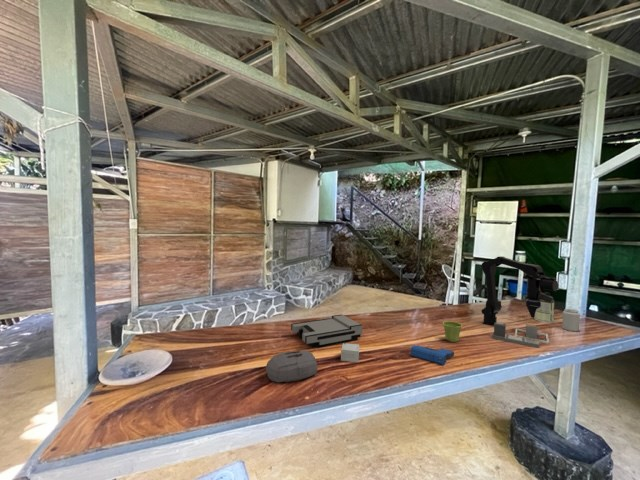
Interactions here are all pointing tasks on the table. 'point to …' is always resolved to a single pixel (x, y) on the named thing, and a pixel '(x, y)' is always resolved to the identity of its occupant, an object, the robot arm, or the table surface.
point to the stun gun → (431, 354)
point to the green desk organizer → (545, 312)
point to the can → (571, 320)
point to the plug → (531, 331)
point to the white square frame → (532, 338)
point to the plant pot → (452, 330)
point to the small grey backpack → (291, 366)
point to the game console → (328, 331)
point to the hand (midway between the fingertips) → (532, 315)
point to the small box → (350, 352)
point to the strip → (518, 340)
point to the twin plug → (499, 329)
